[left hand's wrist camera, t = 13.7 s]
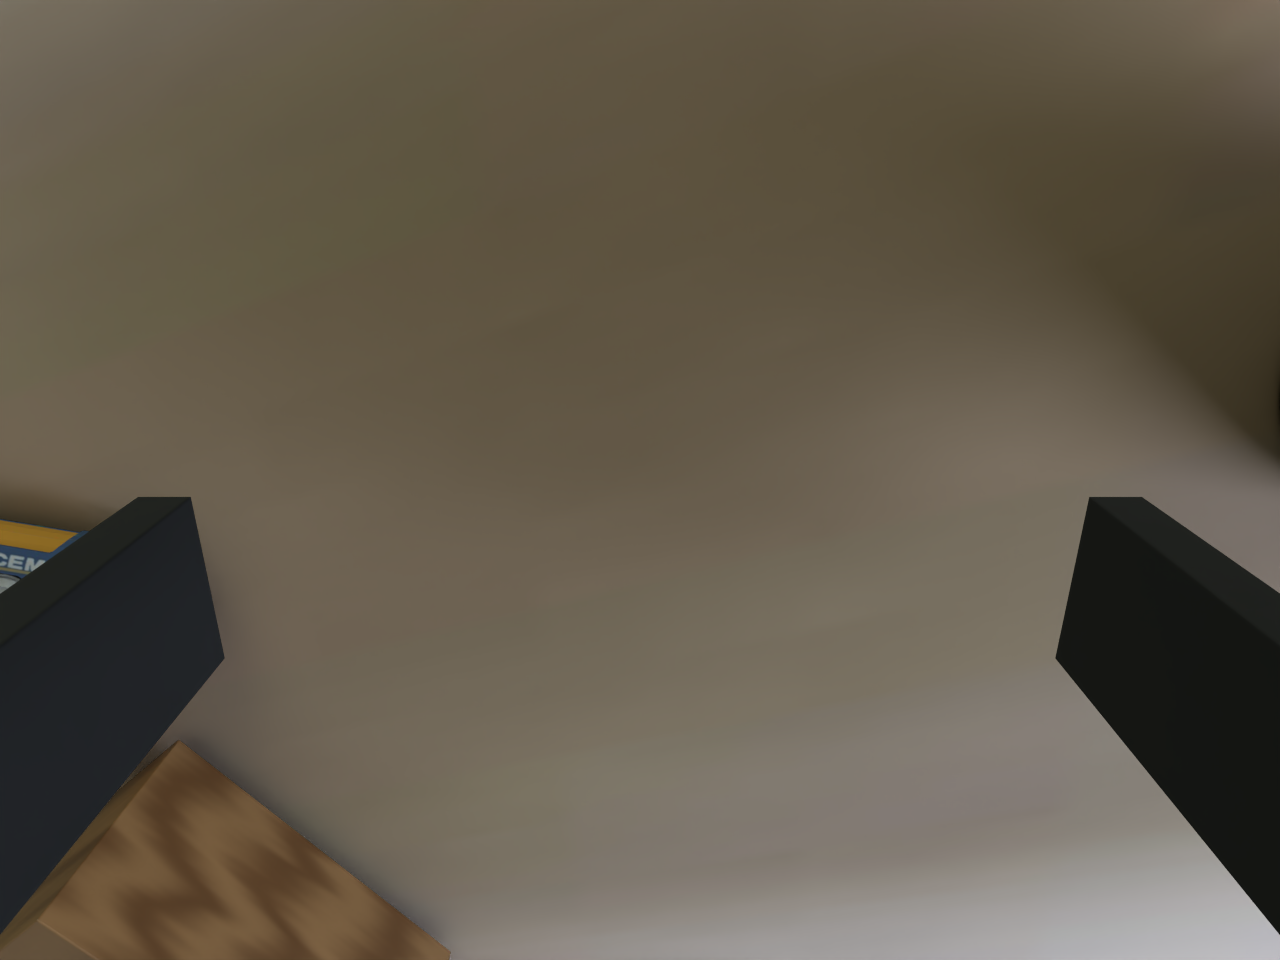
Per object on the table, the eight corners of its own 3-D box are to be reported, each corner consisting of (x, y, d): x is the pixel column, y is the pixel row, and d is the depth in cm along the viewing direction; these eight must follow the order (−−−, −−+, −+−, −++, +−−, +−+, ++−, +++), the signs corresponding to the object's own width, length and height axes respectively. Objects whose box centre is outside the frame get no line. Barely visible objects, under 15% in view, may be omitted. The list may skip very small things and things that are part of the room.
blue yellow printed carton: (220, 762, 50) (221, 533, 45) (182, 814, 46) (178, 569, 41) (-140, 706, 49) (-181, 466, 44) (-210, 753, 45) (-264, 496, 40)
